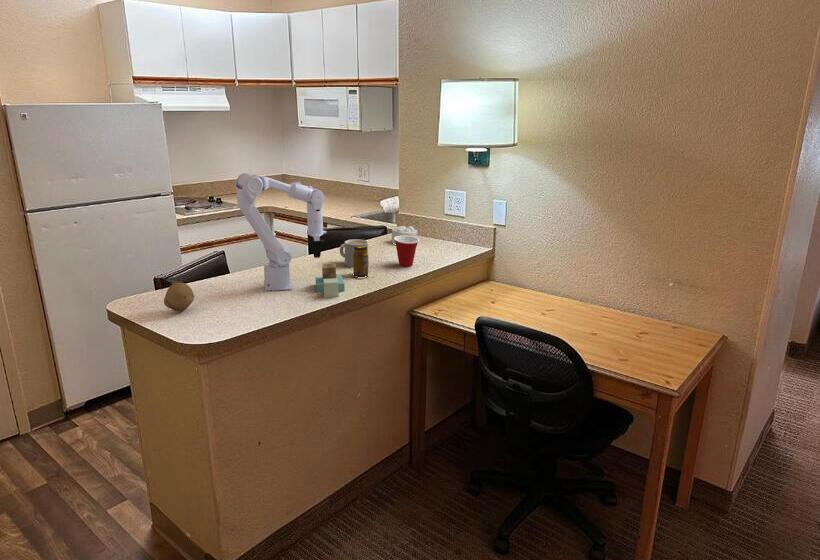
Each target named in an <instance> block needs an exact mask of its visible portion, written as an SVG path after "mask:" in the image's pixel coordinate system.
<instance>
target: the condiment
mask: <svg viewBox="0 0 820 560" xmlns="http://www.w3.org/2000/svg"><path fill="white" fill-rule="evenodd" d="M353 274H354V275H353ZM368 274H369V251H368V252H367V246H364V245H357V246H355V247H354V254H353V271H352V273H349V275H350V276H352V277H353V278H356V279H357V280H361V279H369V278H374V277H375V276H374V275H372V274H370V277H369V276H368ZM355 276H357V277H355ZM365 276H368V277H367V278H366V277H365ZM358 277H365V278H358Z"/></svg>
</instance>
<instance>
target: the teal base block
mask: <svg viewBox="0 0 820 560" xmlns="http://www.w3.org/2000/svg"><path fill="white" fill-rule="evenodd" d="M336 278H337V280H338V289H339V292H345V291H346V289H345V288H346V287H345V281H344V278H343V276H342V275H336ZM314 279H315V287H316V292H320V293H324V284H323V276H315V278H314Z"/></svg>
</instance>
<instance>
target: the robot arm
mask: <svg viewBox="0 0 820 560" xmlns="http://www.w3.org/2000/svg"><path fill="white" fill-rule="evenodd" d="M234 187H235V190H236V203H237V207H238V208H239V210H240V212H241V213H242V215H243V216H244V217H245V220H247V222H248V224H249V225H250V226H251V228H252V229H253V231H254V232H255V234H256V235H257V237H258V238H259V240H260V241H261V243H262V244H263V248H264V250H265V254H266V257H267V259H268V260H269V262H268V263H269V264H264V265H263V273H264V274H263V277H264V280H263V284H264V291H265V290H266V291H265V292H268V291H269V292H270V290H272V291H284V290H285V291H288V290H292V282H291V276H290V275H291V274H290V263H291V261H292V253H291V252H290V251H289V250H288V249H286V248H285V246H284V245H283V244H282V243H281V242H280V241H279V240H278V239H277V237H276V236H275V233H273V231H272V230H271V228H270V226H269V225H268V224H267V222H266V221H265V219H264V217H263V216H262V214H261V213H260V211H259V209H258V208H257V207H256V205H255V203H256V200H257V198H258V196H259V195H260V193H261V192H262V191H266V190H267V189H272V190H277V191H279V192H284V193H286V194H287V195H288V197H289V198H290V199H291V198H292V199H294V200H299V201H301V202H306V216H307V233H306V234H307V237H308V238H309V239H308V242H309V244H310V246H311V251H312V254H313V258H314V259H319V258H321V255H322V254H321V253H322V247H323V245H324V242H325V239H322V237H323V235H324V234H327V230H324V222H323V221H324V218H323V217H324V216H323V203H324V202H325V199H326V196H324V195H325V194H324V193H323V191H322V190H320V189H318V188H315V187H313V186H312V185H304V184H302V182H300V181H298V180H296V182H295V181H294V182H291V183H289V184H288V183H285V182H282V181H280V180H277V179H274V178H271V177H268V176H264V175H259V174H250V173H248V172H243V173H241V174H239V175H238V177H237V178H236V181H235V184H234ZM267 290H268V291H267Z"/></svg>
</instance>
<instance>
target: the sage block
mask: <svg viewBox="0 0 820 560" xmlns="http://www.w3.org/2000/svg"><path fill="white" fill-rule="evenodd" d="M323 284H324V292H323V295H324V296H325V297H324V296H323V297H324V298H338V297H340V296H339V292H340V291H339V289H338V280H337V278H333V279H323Z"/></svg>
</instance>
